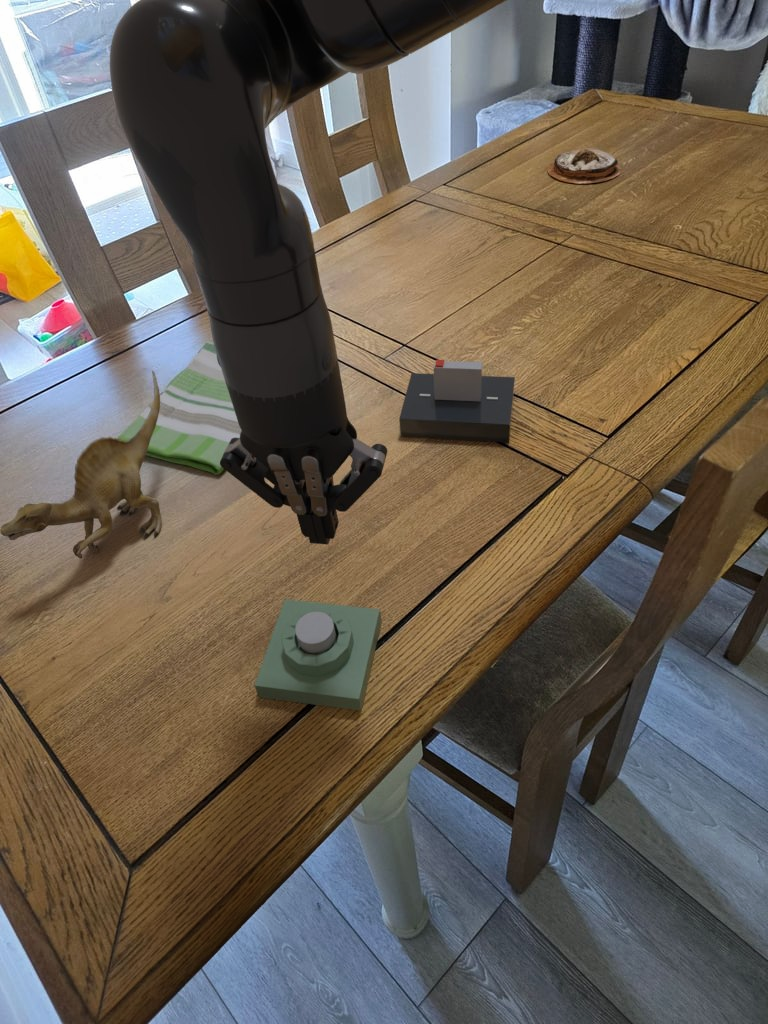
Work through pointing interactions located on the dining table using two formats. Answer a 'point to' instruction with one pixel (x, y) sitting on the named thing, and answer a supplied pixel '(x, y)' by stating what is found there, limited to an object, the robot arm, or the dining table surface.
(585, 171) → the powdered cake
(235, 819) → the dining table surface
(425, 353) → the dining table surface
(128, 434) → the dish towel
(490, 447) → the dining table surface
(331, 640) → the button
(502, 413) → the lever base
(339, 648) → the button block
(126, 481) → the dinosaur figurine
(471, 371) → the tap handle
